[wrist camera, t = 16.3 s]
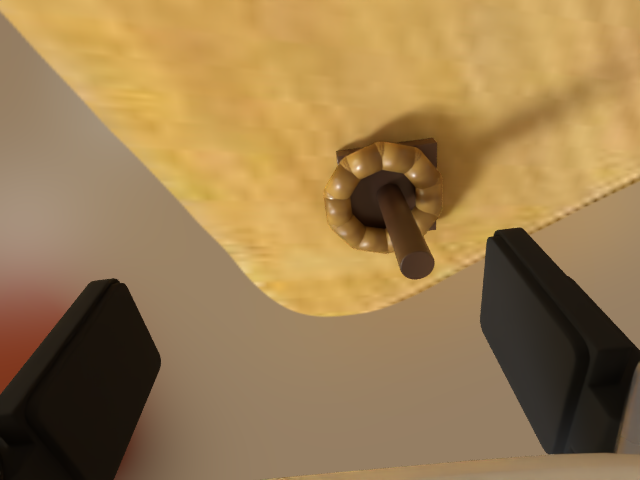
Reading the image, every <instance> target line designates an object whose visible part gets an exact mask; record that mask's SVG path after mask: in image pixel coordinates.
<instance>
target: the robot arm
mask: <svg viewBox="0 0 640 480" xmlns="http://www.w3.org/2000/svg"><path fill="white" fill-rule="evenodd" d="M480 323H481V328H482V331H483V333H484V335H485V337H486V339H487V341H488V343H489V345H490V347H491V349H492V350H493V353H494V355H495V356H496V358H497V360H498V362H499V364H500V366H501V368H502V370H503V372H504V374H505V376H506V378H507V380H508V382H509V384H510V386H511V388H512V389H513V391H514V393H515V395H516V397H517V399H518V401H519V403H520V405H521V407H522V409H523V411H524V413H525V415H526V417H527V418H528V420H529V422H530V424H531V426H532V428H533V430H534V432H535V434H536V436H537V438H538V440H539V442H540V444H541V445H542V447H543V449H544V450H545V452H546V453H548V454H553V455H539V456H525V457H513V458H512V457H511V458H497V459H484V460H471V461H460V462H448V463H437V464H426V465H415V466H404V467H392V468H381V469H370V470H359V471H348V472H336V473H327V474H315V475H305V476H294V477H283V478H272V479H262V480H640V350H639V349H638V348H637V347H636V346H635V345H634V344H633V343H632V342H631V341H630V340H629V339H628V337H627V336H626V335H625V334H624V333H623V332H622V331H621V330H620V329H619V328H618V327H617V326H616V325H615V324H614V323H613V322H612V321H611V319H610V318H609V317H608V316H607V315H606V314H605V313H604V312H603V311H602V310H601V309H600V308H599V307H598V306H597V305H596V303H595V302H594V301H593V300H592V299H591V298H590V297H589V296H588V295H587V294H586V293H585V292H584V291H583V290H582V289H581V288H580V286H579V285H578V284H577V283H576V282H575V281H574V280H573V279H571V278H570V277H569V276H567V275H566V274H565V273H564V272H563V271H562V270H561V269H560V268H559V267H558V266H557V265H556V264H555V263H554V262H553V261H552V259H551V258H550V257H549V256H548V255H547V254H546V253H545V252H544V251H543V250H542V249H541V248H540V247H539V245H538V244H537V243H536V242H535V241H534V240H533V239H532V238H531V237H530V236H529V235H528V234H527V232H526V231H525V230H524V229H522V228H511V229H503V230H497V231H495V233H494V237H489V238H488V239H487V244H486V256H485V269H484V279H483V291H482V303H481V315H480ZM160 366H161V358H160V354H159V352H158V350H157V348H156V346H155V344H154V342H153V340H152V338H151V335H150V333H149V331H148V329H147V327H146V325H145V323H144V321H143V319H142V317H141V315H140V313H139V311H138V308H137V306H136V304H135V302H134V300H133V298H132V296H131V294H130V292H129V290H128V288H127V286H126V285H125V284H124V283H120V282H119V281H118V280H117V279H114V278H113V279H105V280H97V281H92V282H90V283H89V284H88V285H87V287H86V288H85V289H84V290H83V292H82V293H81V294H80V295H79V297H78V298H77V299H76V300H75V302H74V303H73V304H72V305H71V307H70V308H69V309H68V310H67V312H66V313H65V314H64V315H63V317H62V318H61V319H60V320H59V322H58V323H57V324H56V325H55V327H54V328H53V329H52V330H51V332H50V333H49V334H48V336H47V337H46V338H45V339H44V341H43V342H42V343H41V344H40V346H39V347H38V348H37V349H36V351H35V352H34V353H33V354H32V356H31V357H30V358H29V359H28V361H27V362H26V363H25V364H24V366H23V367H22V368H21V370H20V371H19V372H18V373H17V375H16V376H15V377H14V378H13V379H12V381H11V382H10V383H9V385H8V386H7V387H6V388H5V389H4V391H3V392H2V393H1V395H0V480H113V479H114V478H115V475H116V473H117V470H118V468H119V466H120V463H121V460H122V458H123V456H124V454H125V451H126V449H127V446H128V444H129V442H130V439H131V436H132V434H133V432H134V430H135V427H136V425H137V422H138V420H139V418H140V415H141V413H142V410H143V408H144V406H145V403H146V401H147V398H148V396H149V394H150V391H151V389H152V386H153V384H154V382H155V379H156V377H157V374H158V372H159V370H160Z"/></svg>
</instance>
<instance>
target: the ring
mask: <svg viewBox="0 0 640 480" xmlns="http://www.w3.org/2000/svg"><path fill="white" fill-rule="evenodd" d="M381 170H386V171H392V172H398V173H403V174H404V175H405V176H406V177H407V178H408V179H409V180H410V182H411V183H412V184H413V185H414V186H415V198H416V205H415V206H414V207H413V209H412V210H411V212H412V214H413V216H414V218H415V220H416V223H417V225H418V227H419V229H420V231H421V233H422V235H423V237H424V235H425V234H426V233H427V231H428V230H429V229H430V227H431V226H432V225H433V223H434V222H435V221H436V220H437V218H438V217H439V216H440V214H441V212H442V188H443V179H442V176H441V174H440V172H439V171H438V170H437V169H436V168H435V167H434V165H433V164H432V163H431V162H430V161H429V160H428V158H427V157H426V156H425V155H424V154H423V153H422V151H421V150H420V149H418V148H416V147H412V146H406V145H401V144H395V143H389V142H383V141H379V142H375V143H373V144H371V145H369V146H367V147H365V148H362V149H360V150H358V151H356V152H354V153H352V154H350V155H348V156H346V157H344V158H343V159H342V160H341V161H340V163H339V165H338V166H337V168H336V170H335V171H334V173H333V175H332V177H331V178H330V180H329V182H328V183H327V185H326V187H325V189H324V200H325V207H326V214H327V221H328V225H329V227H330V228H331V229H332V230H333V231H334V232H335V233H336V234H338V235H339V236H340V237H341V238H342V239H343V240H344V241H345V242H346V243H347V244H348V245H350V246H351V247H352V248H354V249H357V250H364V251H370V252H377V253H385V254H387V253H391V252H394V249H393V246H392V243H391V240H390V237H389V234H388V231H387V228H385V229H382V228H375V227H369V226H364V225H363V224H362V223H361V222H360V221H359V220H358V219H357V218H356V217H355V216H354V215H353V214H352V208H351V199H350V196H351V195H352V193H353V191H354V190H355V188H356V187H357V185H358V183H359V182H360V180H361V179H363V178H365V177H367V176H370V175H372V174H374V173H376V172H378V171H381Z"/></svg>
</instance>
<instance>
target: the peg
mask: <svg viewBox="0 0 640 480" xmlns="http://www.w3.org/2000/svg"><path fill="white" fill-rule="evenodd" d="M395 144H401V145H406V146H412V147H416V148H418V149H420V150H421V151H422V153H423V154H424V155H425V156H426V157H427V158H428V160H429V161H430V162H431V163H432V164H433V165H434V167H435V168H436V169H437V142H436V141H435V140H434V139H433V138H428V139H421V140H414V141H406V142H399V143H395ZM363 148H365V147H363ZM360 149H362V148H356V149H349V150H342V151H336V155H337V163H338V165H339V163H340V161H341V160H342V159H343V158H344V157H346V156H348V155H350V154H352V153H354V152H356V151H358V150H360ZM350 199H351V208H352V214H353V215H354V216H355V217H356V218H357V219H358V220H359V221H360V222H361V223H362V224H363V225H364V226H369V227H375V228H382V229H385V228H387V231H388V234H389V237H390V240H391V243H392V246H393V249H394V252H395V255H396V258H397V261H398V264H399V267H400V270H401V272H402V274H403V275H404V276H405V277H407V278H410V279H421V278H424V277H426V276H427V275H429V274H430V273H431V272H432V270H433V268H434V258H433V256H432V254H431V252H430V250H429V248H428V246H427V244H426V242H425V239H424V237H423V235H422V233H421V231H420V229H419V227H418V225H417V223H416V220H415V218H414V216H413V214H412V212H411V210H412V209H413V207H414V206H415V205H416V198H415V186H414V185H413V184H412V183H411V182H410V180H409V179H408V178H407V177H406V176H405V175H404V174H403V173H398V172H392V171H386V170H381V171H378V172H376V173H374V174H372V175H370V176H367V177H365V178H363V179H361V180H360V182H359V183H358V185H357V187H356V188H355V190H354V191H353V193H352V195H351V196H350ZM429 230H436V221H435V222H434V223H433V225H432V226H431V227H430V229H429ZM429 230H428V231H429Z"/></svg>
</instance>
